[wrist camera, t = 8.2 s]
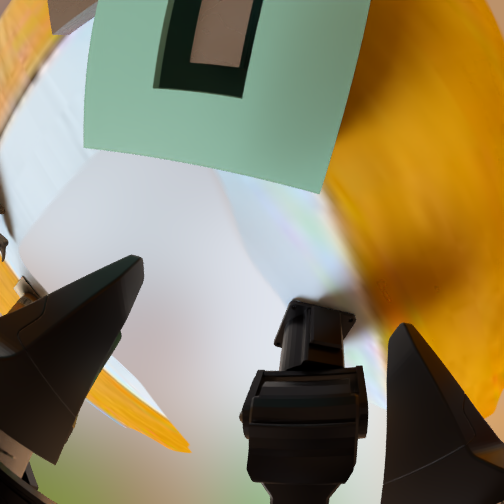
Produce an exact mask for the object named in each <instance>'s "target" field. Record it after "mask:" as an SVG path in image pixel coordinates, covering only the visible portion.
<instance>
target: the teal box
mask: <svg viewBox="0 0 504 504" xmlns="http://www.w3.org/2000/svg"><path fill="white" fill-rule="evenodd" d="M201 2H202V0H98V4H97V8H96V13H95V18H94V23H93V29H92V35H91V41H90V48H89V55H88V63H87V73H86V84H85V100H84V148H90V149H98V150H106V151H114V152H121V153H129V154H135V155H143V156H148V157H155V158H161V159H166V160H172V161H178V162H183V163H188V164H194V165H199V166H204V167H209V168H214V169H219V170H223V171H228V172H233V173H237V174H241V175H246V176H250V177H255V178H259V179H263V180H267V181H271V182H275V183H279V184H283V185H287V186H291V187H295V188H298V189H302V190H306V191H310V192H313V193H317V194H320V191H321V188H322V185H323V182H324V178H325V175H326V172H327V169H328V165H329V162H330V159H331V155H332V152H333V148H334V145H335V142H336V138H337V135H338V131H339V128H340V124H341V121H342V117H343V113H344V110H345V106H346V102H347V99H348V95H349V91H350V87H351V84H352V80H353V76H354V72H355V68H356V64H357V60H358V56H359V51H360V47H361V43H362V39H363V34H364V30H365V25H366V21H367V16H368V11H369V7H370V2H371V0H263V4H262V8H261V13H260V17H259V21H258V26H257V30H256V34H255V39H254V44H253V48H252V53H251V58H250V62H249V67H248V70H243V69H236V68H228V67H219V66H213V65H206V64H198V63H190V58H191V52H192V46H193V41H194V36H195V31H196V26H197V21H198V16H199V11H200V7H201Z"/></svg>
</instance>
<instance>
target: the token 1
mask: <svg viewBox="0 0 504 504" xmlns="http://www.w3.org/2000/svg"><path fill="white" fill-rule="evenodd" d="M97 4H98V0H48V7H49V15H50V22H51V28H52V34H53V35H69V34H71V33H72V32H73V31H75V30H76V29H77V28H79V27H80V26H82V25H83V24H85V23H86V22H87V21H89V20H90V19H92V18H93V17H95V13H96V8H97Z"/></svg>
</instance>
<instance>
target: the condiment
mask: <svg viewBox="0 0 504 504" xmlns="http://www.w3.org/2000/svg"><path fill="white" fill-rule="evenodd" d="M13 289H14V290H15V291H16V293H17V294H18V295H19V296H20V299H19V300H18V301H17V303H16V304H15V305H14V306H13V307H12V309H11V310H10V311H9V312H8V313H11V312H13V311H15V310H18V309H20V308H22V307H24V306H26V305H28V304H30V303H32V302H35V301H37V300H39V299H40V297H39V296H38V295H37V294H36V293H35V292H34V290H33V289H32V288H31V286H30V285H29V284H28V283H27V282H26V281H25V280H24V278H23V277H21V279H20V280H19V282H18V283H17V284H16V286H15V287H14V288H13ZM23 293H24V294H23ZM8 313H7V314H8Z"/></svg>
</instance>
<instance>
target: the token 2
mask: <svg viewBox="0 0 504 504" xmlns="http://www.w3.org/2000/svg"><path fill="white" fill-rule="evenodd" d="M262 4H263V0H202V2H201V7H200V11H199V16H198V21H197V26H196V31H195V36H194V41H193V46H192V52H191V58H190V63H198V64H206V65H213V66H219V67H228V68H236V69H243V70H248V67H249V62H250V58H251V53H252V48H253V44H254V39H255V34H256V30H257V26H258V21H259V17H260V13H261V8H262Z"/></svg>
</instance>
